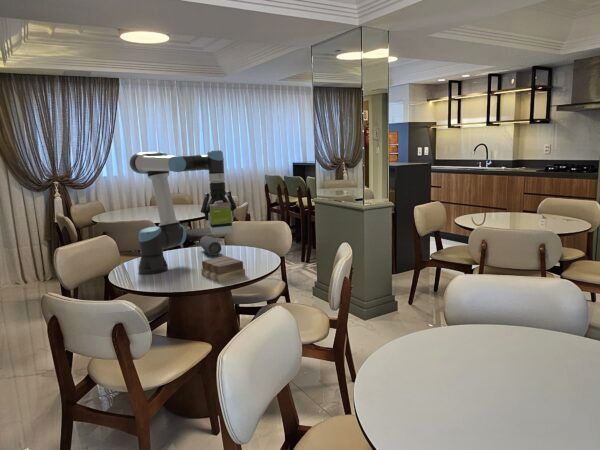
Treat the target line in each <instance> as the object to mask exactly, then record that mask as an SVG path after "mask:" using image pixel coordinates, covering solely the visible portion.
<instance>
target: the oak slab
mask: <svg viewBox="0 0 600 450" xmlns="http://www.w3.org/2000/svg"><path fill="white" fill-rule="evenodd" d="M201 276H203V277H206V278H208V279H211V280H213V281H216V282H218V283H222V282H225V281H229V280H233V279H237V278H241V277H244V276H246V268H243V269H241V270H237V271H233V272H229V273H224V274H220V275H218V274H216V273H213V272H211V271H208V270H205V269H203V268H201Z"/></svg>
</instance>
